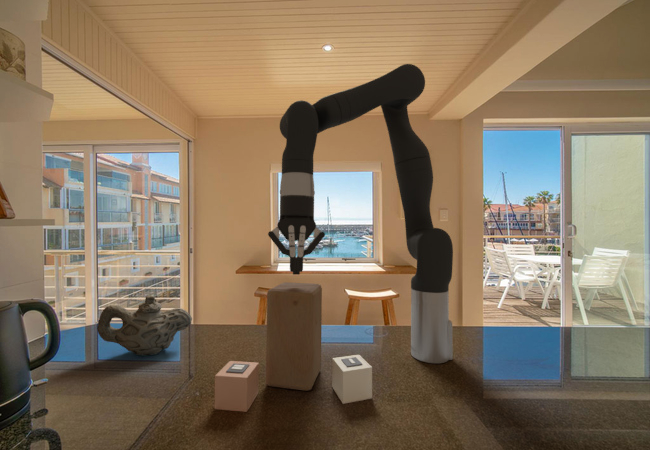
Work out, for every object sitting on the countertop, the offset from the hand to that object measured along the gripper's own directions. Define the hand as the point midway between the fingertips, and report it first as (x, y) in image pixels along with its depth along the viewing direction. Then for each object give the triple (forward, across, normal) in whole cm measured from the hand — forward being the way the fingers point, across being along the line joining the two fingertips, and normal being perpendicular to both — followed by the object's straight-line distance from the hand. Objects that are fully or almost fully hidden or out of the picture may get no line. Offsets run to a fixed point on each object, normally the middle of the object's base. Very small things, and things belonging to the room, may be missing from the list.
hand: (296, 273), depth 63 cm
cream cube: (+23, -11, +7) cm, 26 cm away
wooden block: (+23, 0, 0) cm, 23 cm away
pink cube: (+23, +11, +7) cm, 26 cm away
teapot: (+23, +38, -18) cm, 48 cm away
